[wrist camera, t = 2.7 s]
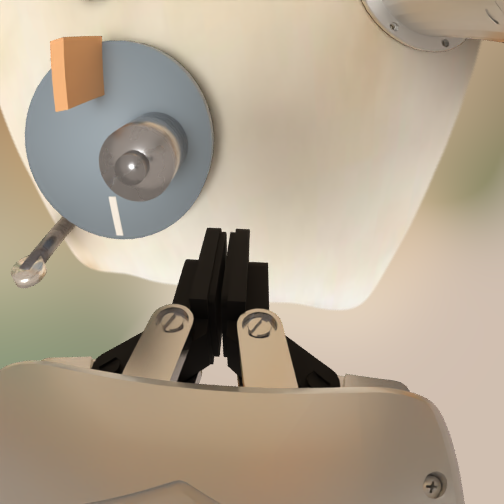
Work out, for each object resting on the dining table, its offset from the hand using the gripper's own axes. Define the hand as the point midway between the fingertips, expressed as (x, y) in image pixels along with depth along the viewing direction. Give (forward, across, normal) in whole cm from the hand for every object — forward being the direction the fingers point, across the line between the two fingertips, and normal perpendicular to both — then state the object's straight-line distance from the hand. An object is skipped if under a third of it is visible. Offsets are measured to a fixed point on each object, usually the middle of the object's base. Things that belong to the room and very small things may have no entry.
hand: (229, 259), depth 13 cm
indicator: (+19, +22, +10) cm, 30 cm away
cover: (+15, +8, 0) cm, 17 cm away
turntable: (+17, +13, 0) cm, 21 cm away
